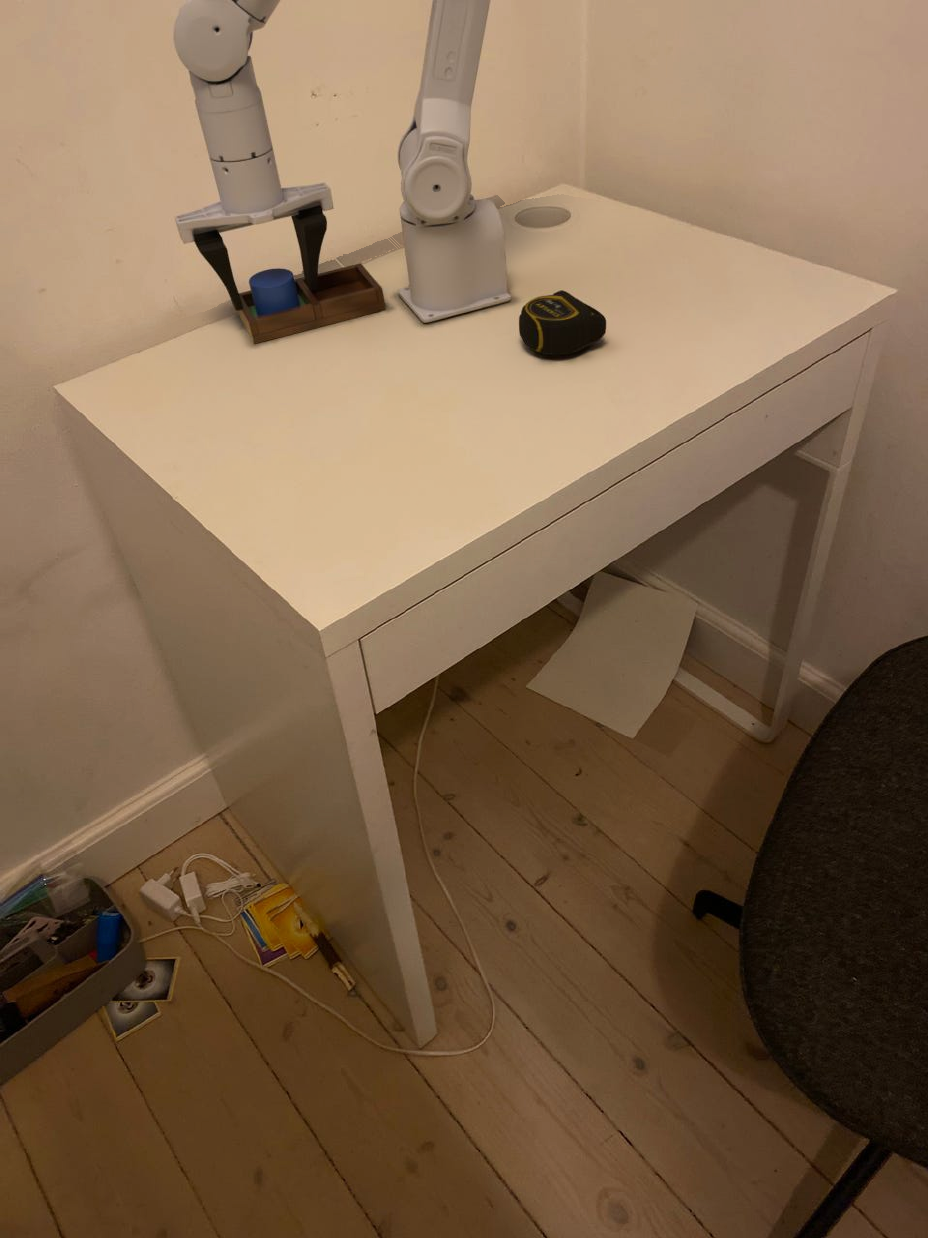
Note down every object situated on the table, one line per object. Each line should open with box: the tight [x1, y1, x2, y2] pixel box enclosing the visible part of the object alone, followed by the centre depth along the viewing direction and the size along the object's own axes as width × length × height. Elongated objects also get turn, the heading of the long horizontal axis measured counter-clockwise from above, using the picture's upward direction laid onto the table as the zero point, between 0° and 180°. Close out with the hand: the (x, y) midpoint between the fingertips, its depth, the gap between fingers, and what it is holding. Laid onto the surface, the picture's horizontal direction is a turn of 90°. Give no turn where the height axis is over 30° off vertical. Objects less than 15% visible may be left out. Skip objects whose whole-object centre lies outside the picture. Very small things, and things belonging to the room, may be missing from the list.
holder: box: [237, 262, 386, 345], centre depth 94 cm, size 14×7×2 cm, turn 112°
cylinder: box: [248, 267, 300, 317], centre depth 92 cm, size 4×4×4 cm
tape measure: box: [518, 290, 607, 356], centre depth 84 cm, size 7×7×4 cm
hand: (275, 296), depth 93 cm, fingers open, 7 cm apart
